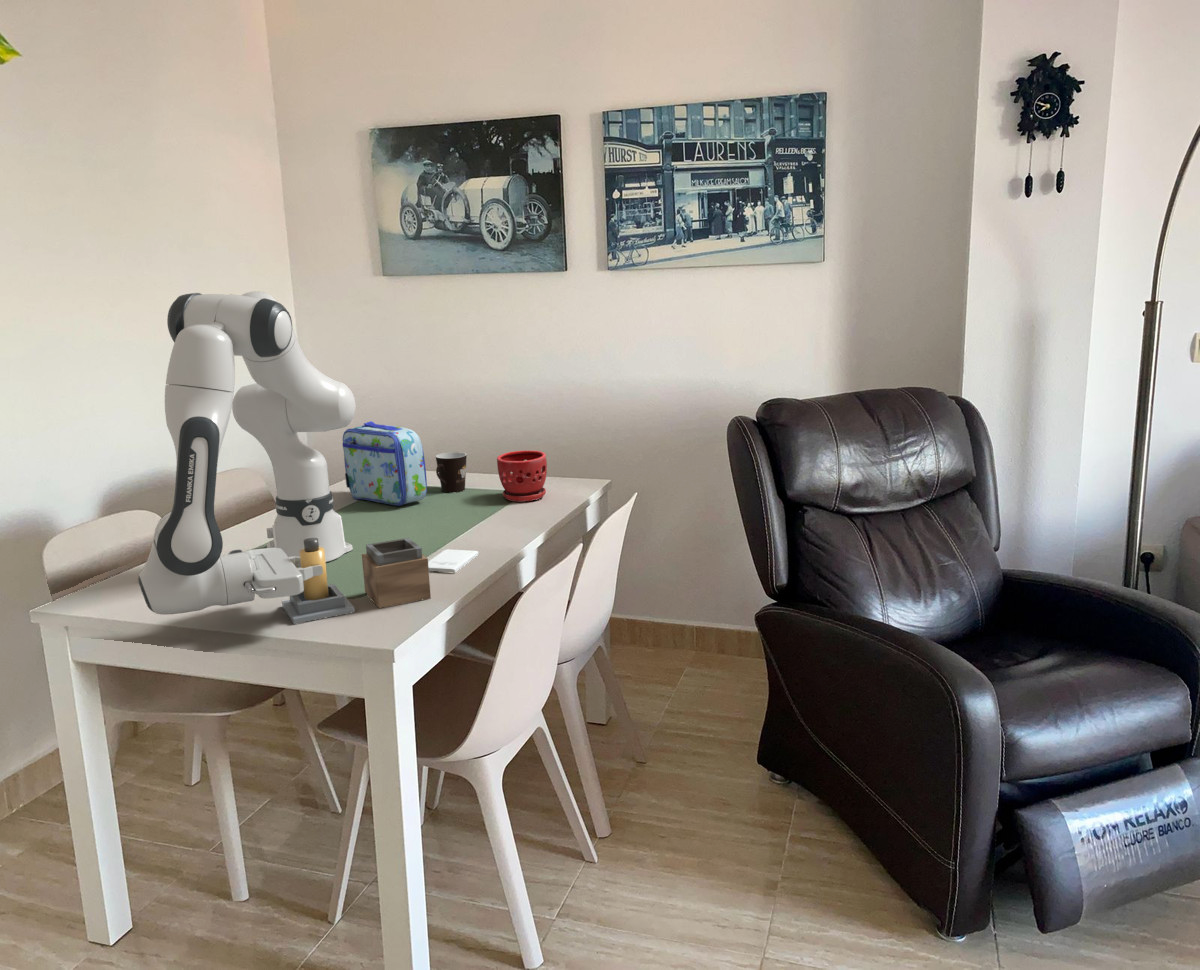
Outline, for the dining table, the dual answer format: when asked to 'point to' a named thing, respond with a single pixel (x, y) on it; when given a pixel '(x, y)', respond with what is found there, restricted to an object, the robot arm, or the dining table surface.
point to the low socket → (317, 606)
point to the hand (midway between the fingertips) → (318, 564)
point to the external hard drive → (451, 560)
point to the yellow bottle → (310, 556)
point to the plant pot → (522, 475)
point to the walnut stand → (395, 572)
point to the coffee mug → (451, 471)
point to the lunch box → (384, 464)
